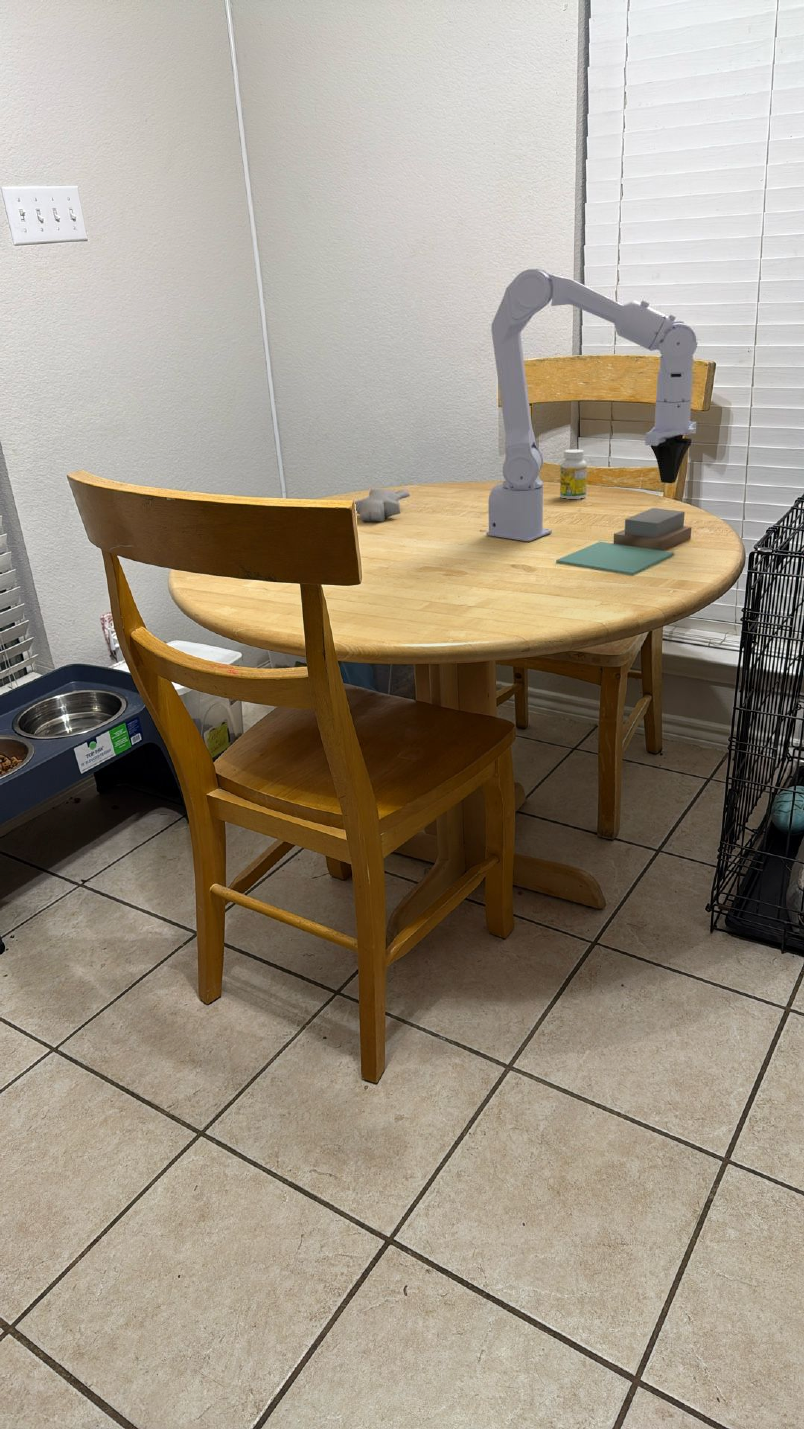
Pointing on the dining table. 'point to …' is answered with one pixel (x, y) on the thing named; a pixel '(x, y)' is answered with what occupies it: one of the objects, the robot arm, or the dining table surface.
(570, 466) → the supplement bottle
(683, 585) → the dining table surface
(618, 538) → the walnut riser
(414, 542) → the dining table surface
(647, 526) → the slate tile
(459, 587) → the dining table surface
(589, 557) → the teal mat
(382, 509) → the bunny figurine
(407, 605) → the dining table surface
